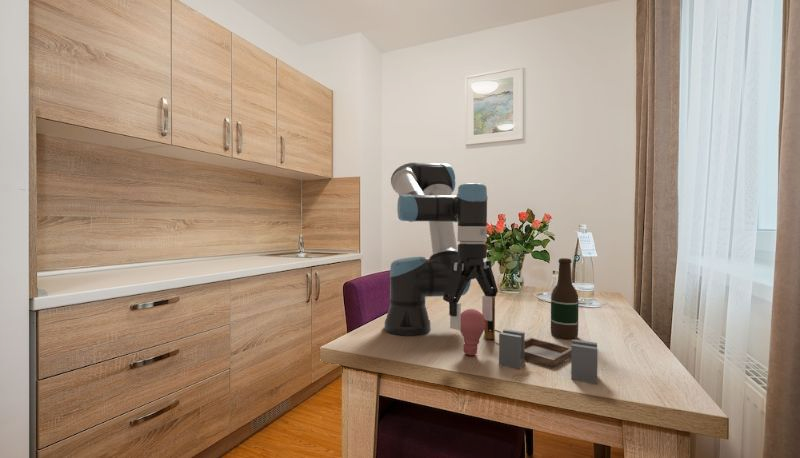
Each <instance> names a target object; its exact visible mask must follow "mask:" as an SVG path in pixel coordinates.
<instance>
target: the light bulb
mask: <svg viewBox="0 0 800 458" xmlns="http://www.w3.org/2000/svg"><path fill="white" fill-rule="evenodd" d="M485 325H486V323H485V318H484V316H483V315H482V312H480V311H479V310H477V309H474V308H469V309H468V308H467V309H465V310H463V311H461V330H459V331H460V333H461V335H462V337H463V345H462V346H463V347H462V348H463V349H462V351H463V353H464V354H466V355H468V356H475V355H477V354H478V345H479V343H480V339H481V338H482V336H483V333H484V329H485Z"/></svg>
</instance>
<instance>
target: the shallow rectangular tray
mask: <svg viewBox="0 0 800 458" xmlns="http://www.w3.org/2000/svg"><path fill="white" fill-rule="evenodd" d="M571 351H572V347H569V346H565V345H561V344H559V343H554V342H550V341H547V340H543V339H538V338H536V337H535V338H534V337H529V338H526V339H525V355H524V356H525V360H527V361H530V362H533V363H536V364H539V365H543V366H546V367H549V368H552V369H554V368H556V367H558V366H559V365H561V364H563V363H565V362H566V361H568V360H570V359H571Z"/></svg>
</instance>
